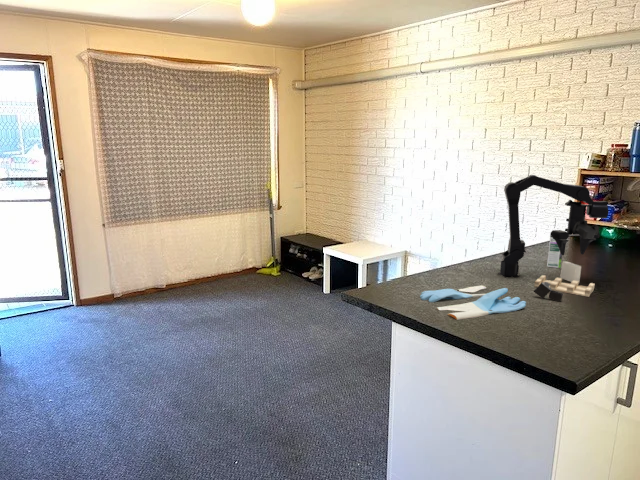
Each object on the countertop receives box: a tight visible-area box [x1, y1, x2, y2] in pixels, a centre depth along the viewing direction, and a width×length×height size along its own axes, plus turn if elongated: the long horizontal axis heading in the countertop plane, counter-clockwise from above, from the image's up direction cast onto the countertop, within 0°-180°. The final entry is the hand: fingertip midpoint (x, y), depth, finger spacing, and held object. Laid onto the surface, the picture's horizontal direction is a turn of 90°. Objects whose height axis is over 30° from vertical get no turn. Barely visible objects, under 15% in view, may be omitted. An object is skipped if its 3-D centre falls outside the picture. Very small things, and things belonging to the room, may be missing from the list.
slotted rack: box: [533, 274, 596, 298], centre depth 181 cm, size 12×19×2 cm, turn 52°
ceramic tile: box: [559, 261, 582, 283], centre depth 191 cm, size 2×8×7 cm, turn 12°
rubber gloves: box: [419, 284, 527, 321], centre depth 165 cm, size 27×33×6 cm
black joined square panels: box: [533, 282, 564, 302], centre depth 168 cm, size 9×2×6 cm
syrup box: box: [546, 236, 563, 269], centre depth 213 cm, size 6×6×14 cm
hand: (572, 254), depth 190 cm, fingers open, 9 cm apart
